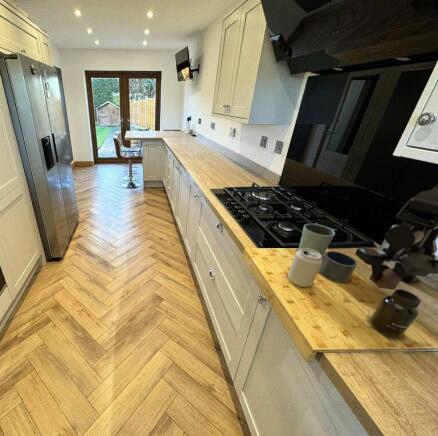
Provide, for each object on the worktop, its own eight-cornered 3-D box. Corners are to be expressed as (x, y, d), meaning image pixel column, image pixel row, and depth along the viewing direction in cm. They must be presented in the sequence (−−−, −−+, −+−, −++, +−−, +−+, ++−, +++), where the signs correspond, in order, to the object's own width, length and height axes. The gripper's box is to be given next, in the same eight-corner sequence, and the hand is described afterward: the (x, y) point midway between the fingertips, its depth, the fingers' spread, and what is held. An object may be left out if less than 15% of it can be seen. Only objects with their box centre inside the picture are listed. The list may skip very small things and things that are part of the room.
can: (289, 271, 86) (299, 243, 81) (313, 280, 82) (325, 252, 77) (284, 281, 81) (295, 252, 76) (309, 292, 77) (323, 262, 72)
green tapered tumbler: (329, 262, 92) (341, 236, 87) (303, 261, 92) (314, 235, 87) (313, 248, 102) (323, 223, 96) (290, 247, 102) (299, 222, 96)
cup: (329, 264, 91) (336, 249, 88) (354, 279, 84) (363, 263, 81) (312, 268, 88) (319, 253, 85) (337, 284, 81) (345, 268, 78)
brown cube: (384, 280, 76) (390, 269, 74) (394, 289, 72) (401, 278, 70) (369, 278, 77) (375, 267, 75) (378, 287, 73) (385, 276, 71)
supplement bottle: (390, 341, 61) (415, 308, 56) (362, 320, 67) (382, 288, 62) (408, 336, 63) (433, 303, 58) (379, 315, 69) (400, 284, 64)
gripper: (393, 250, 61) (366, 295, 68) (477, 259, 59) (441, 305, 65) (365, 230, 71) (344, 271, 78) (436, 237, 69) (408, 279, 75)
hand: (382, 281), depth 74 cm, fingers closed on brown cube, 4 cm apart
